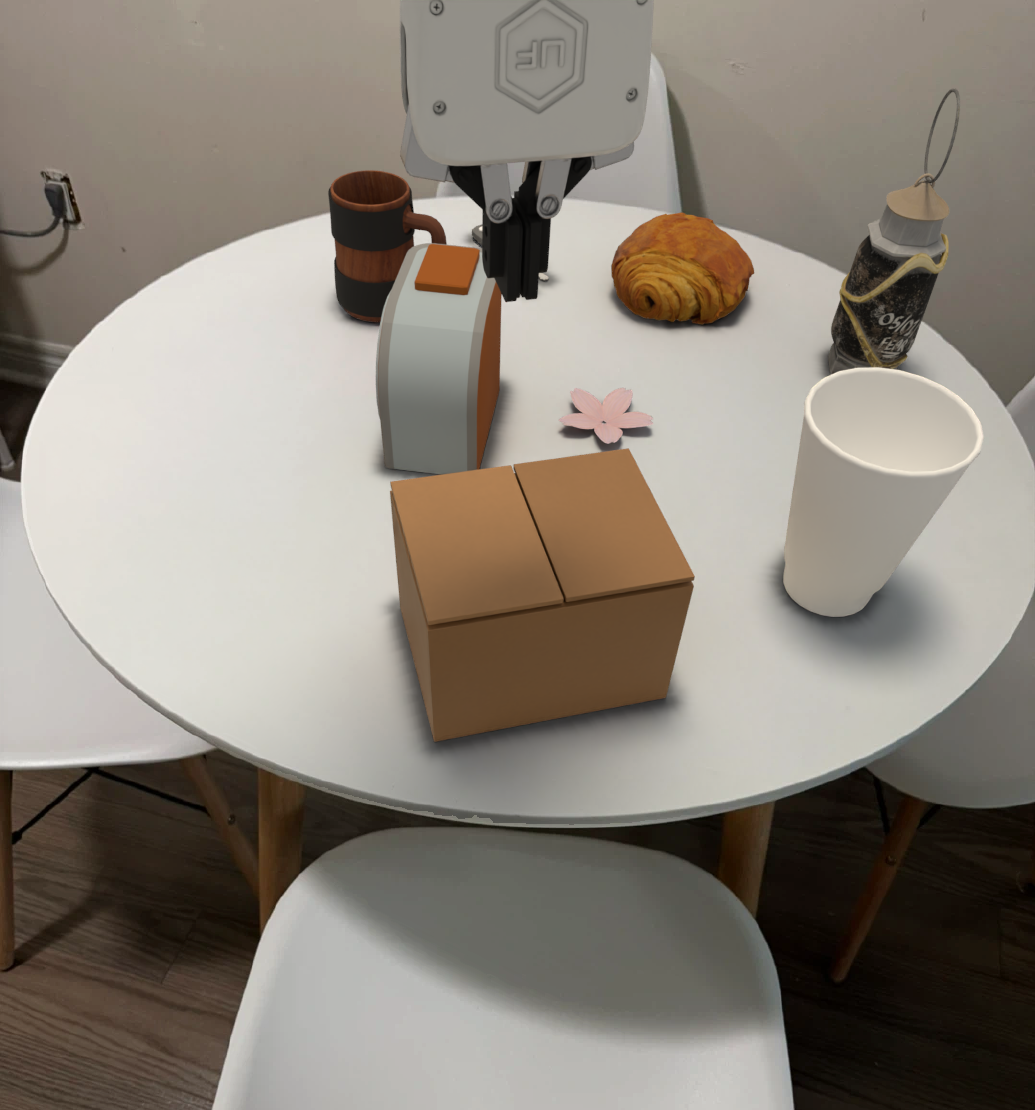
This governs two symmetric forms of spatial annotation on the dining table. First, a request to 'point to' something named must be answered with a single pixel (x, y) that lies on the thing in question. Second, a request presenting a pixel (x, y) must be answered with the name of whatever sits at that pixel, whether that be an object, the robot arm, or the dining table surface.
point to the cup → (870, 481)
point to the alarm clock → (438, 361)
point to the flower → (605, 414)
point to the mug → (372, 237)
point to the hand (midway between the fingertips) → (514, 286)
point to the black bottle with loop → (892, 275)
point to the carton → (562, 608)
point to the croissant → (681, 270)
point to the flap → (473, 545)
